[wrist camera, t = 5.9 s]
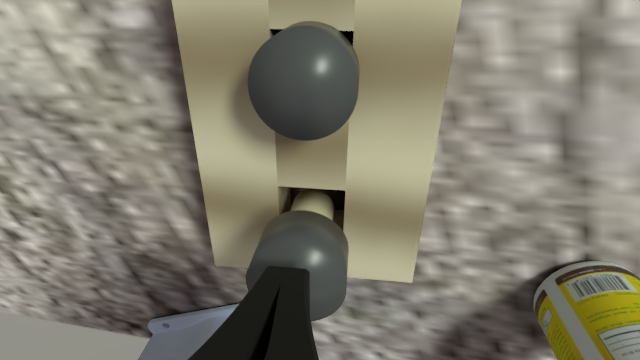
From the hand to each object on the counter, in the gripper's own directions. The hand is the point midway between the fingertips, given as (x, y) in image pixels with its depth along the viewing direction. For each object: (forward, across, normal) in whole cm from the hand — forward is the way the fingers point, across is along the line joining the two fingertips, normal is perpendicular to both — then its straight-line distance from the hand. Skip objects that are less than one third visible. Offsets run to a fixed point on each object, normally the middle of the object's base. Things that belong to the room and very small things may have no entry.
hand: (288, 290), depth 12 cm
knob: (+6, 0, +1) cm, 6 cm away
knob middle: (+8, 0, -6) cm, 10 cm away
